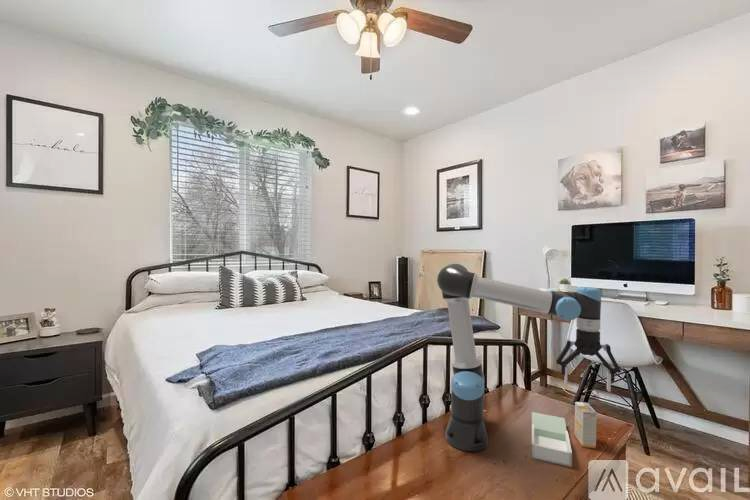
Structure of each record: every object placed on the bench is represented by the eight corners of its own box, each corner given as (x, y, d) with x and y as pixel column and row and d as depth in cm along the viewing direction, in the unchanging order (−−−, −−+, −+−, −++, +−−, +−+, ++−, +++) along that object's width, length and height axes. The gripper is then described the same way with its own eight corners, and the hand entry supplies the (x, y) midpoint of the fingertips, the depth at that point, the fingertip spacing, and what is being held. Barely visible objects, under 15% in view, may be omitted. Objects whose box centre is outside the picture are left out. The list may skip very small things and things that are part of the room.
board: (531, 435, 133) (531, 427, 133) (531, 419, 146) (531, 411, 146) (567, 443, 128) (567, 435, 128) (564, 425, 141) (564, 418, 141)
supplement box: (596, 448, 125) (597, 412, 125) (581, 447, 126) (582, 411, 126) (587, 436, 133) (588, 402, 133) (573, 435, 134) (574, 401, 134)
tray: (531, 457, 119) (531, 444, 119) (531, 435, 133) (531, 423, 133) (571, 467, 114) (572, 453, 114) (567, 443, 128) (567, 431, 128)
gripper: (550, 327, 131) (549, 384, 131) (631, 335, 120) (630, 397, 121) (549, 323, 137) (548, 377, 138) (626, 331, 127) (625, 389, 127)
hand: (586, 386), depth 129 cm, fingers open, 13 cm apart
